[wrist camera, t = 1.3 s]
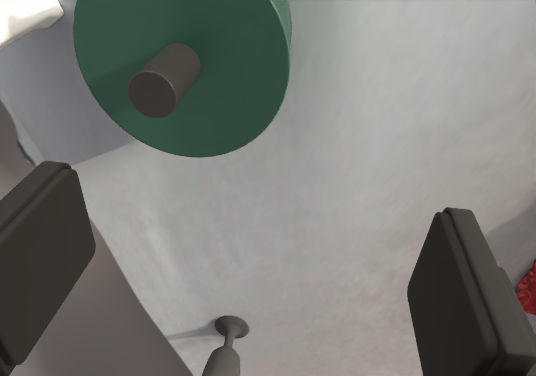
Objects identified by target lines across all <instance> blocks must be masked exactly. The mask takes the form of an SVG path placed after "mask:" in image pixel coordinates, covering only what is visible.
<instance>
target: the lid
mask: <svg viewBox="0 0 536 376" xmlns="http://www.w3.org/2000/svg"><path fill="white" fill-rule="evenodd" d="M73 35H74V45H75V51H76V56H77V60H78V63H79V66H80V70H81V72H82V74H83V77H84V79H85V82H86V84H87V85H88V87H89V89H90V91H91V93H92V94H93V96H94V97H95V99H96V100H97V102H98V103H99V105H100V106H101V107H102V108H103V110H104V111H105V112H106V113H107V114H108V115H109V117H110V118H111V119H112V120H114V121H115V122H116V123H117V124H118V125H119V126H120V127H121V128H122V129H124V130H125V131H126V132H128V133H129V134H130V135H132V136H133V137H135V138H136V139H138V140H140V141H141V142H143V143H145V144H147V145H149V146H151V147H153V148H156V149H158V150H161V151H164V152H167V153H171V154H174V155H179V156H186V157H211V156H217V155H222V154H226V153H229V152H232V151H234V150H237V149H239V148H241V147H243V146H245V145H247V144H248V143H249V142H251V141H252V140H254V139H255V138H257V137H258V136H259V135H260V134H261V133H262V132H263V131H264V130H265V129H266V128H267V127H268V125H269V124H270V123H271V122H272V120H273V119H274V117H275V116H276V114H277V112H278V111H279V109H280V106H281V104H282V102H283V99H284V96H285V93H286V89H287V85H288V80H289V72H290V52H289V44H288V38H287V34H286V30H285V27H284V23H283V21H282V18H281V16H280V14H279V11H278V9H277V7H276V5H275V3H274V2H273V0H77V3H76V8H75V12H74V23H73Z"/></svg>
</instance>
